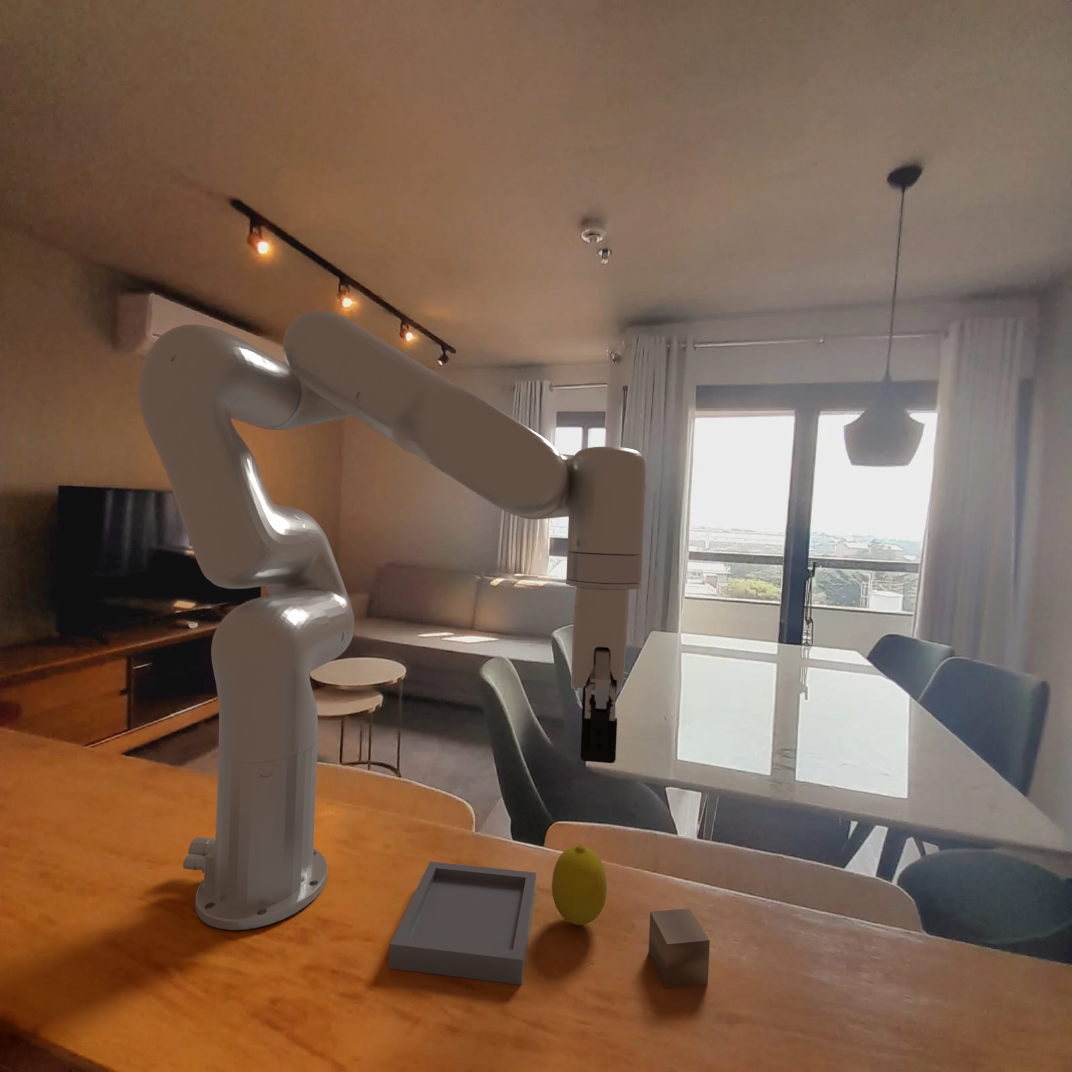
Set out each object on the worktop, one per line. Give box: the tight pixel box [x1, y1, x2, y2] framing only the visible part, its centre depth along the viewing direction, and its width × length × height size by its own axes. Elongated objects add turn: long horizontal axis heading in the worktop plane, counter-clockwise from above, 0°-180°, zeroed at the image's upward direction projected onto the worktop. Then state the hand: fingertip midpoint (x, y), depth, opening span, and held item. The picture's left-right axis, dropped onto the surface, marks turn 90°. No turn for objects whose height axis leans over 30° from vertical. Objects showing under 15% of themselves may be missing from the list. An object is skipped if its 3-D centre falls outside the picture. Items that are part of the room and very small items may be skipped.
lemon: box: [551, 844, 608, 927], centre depth 54 cm, size 6×6×8 cm
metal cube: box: [648, 908, 711, 989], centre depth 49 cm, size 4×4×4 cm
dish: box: [388, 861, 537, 986], centre depth 53 cm, size 12×12×2 cm
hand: (596, 740), depth 53 cm, fingers open, 9 cm apart
